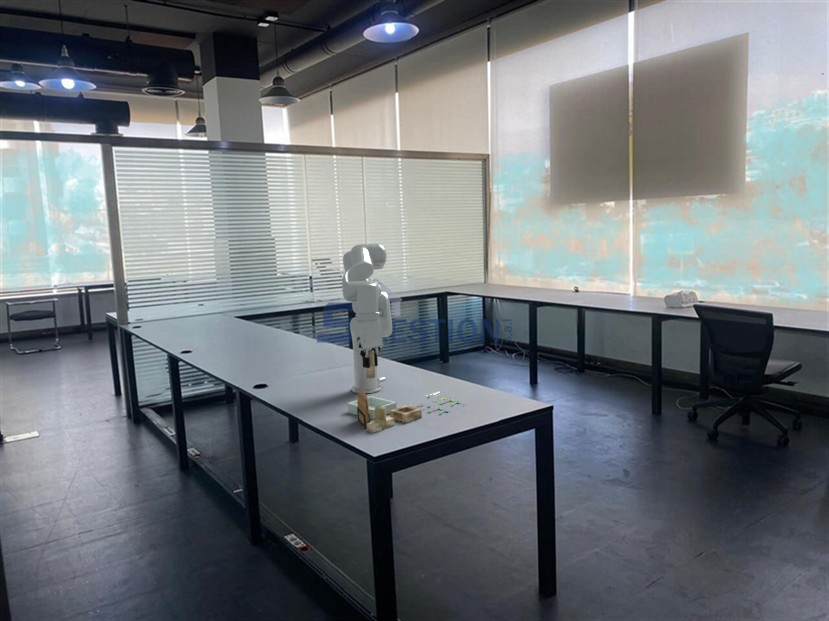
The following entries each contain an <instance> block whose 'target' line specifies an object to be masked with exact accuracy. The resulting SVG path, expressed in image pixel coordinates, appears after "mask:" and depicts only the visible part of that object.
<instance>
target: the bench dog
mask: <svg viewBox="0 0 829 621" xmlns="http://www.w3.org/2000/svg"><path fill="white" fill-rule="evenodd" d="M395 421H396V420H395V419H394V418H392V417H390V415H386V407H382V406H380V407H376V408H375V419H374V420H373V421H370V423H368V424H367V429H366V431H367V432H370V433H373V434H374V433H377V432H379V430H380V431H381V430H382V429H383V430H386V429H388V428H390V426H391V427H393V425H394V426H395V425H396V423H395ZM387 427H388V428H387ZM376 431H377V432H376Z"/></svg>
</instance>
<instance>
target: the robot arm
mask: <svg viewBox="0 0 829 621" xmlns="http://www.w3.org/2000/svg"><path fill="white" fill-rule="evenodd" d="M350 249H351V250H350V251H347V252H345V253H344V254H343V257H342V262H343V269H344V274H343V276H342V280H341V289H342V297H343V299H344V300H345V301H346V302H351V306H352V310H353V312H354V313H355V314H357V316H355V317H352V318H351V320H350V322H349V329H350V334H351V339H352V351H353V372H354V385H353V386H351V391H352V393H356V394H358V389H359V388H360V389H361V390H362V391H363V392H364V393H365V394H372V393H373V394H374V393H378V392H379V391H381V390H382V385H380V384H381V383H384V382H386V377H385V376H383V377H382V376H381V377H380V378H379V377H378V369H377V367H378V366H379V365H378V362H379V361H378V360H379V359H378V356H379V355H380V351H381V349H382V348H383V347H384V345H385V344H384V342H383V338H388V337H390V336H391V335H392V333H393V321H392V320H393V319H392V309H391V303H390V297H389V294H388V293H387V292H386V291H384V290H382V287H381V285H380V283H379V282H378V281H376V280H370V279H369V278H370V277H371V276H372V275H373V273H374V271H375V270H382V269H383V268H384V266H385V264H386V261H387V251H386V248H385V247H384V245H383V244H381V243H367V244H366V243H362V244H361V243H360V244H357V245H354V246H353V247H352V248H350ZM368 350H374V360H375V378H367V376H366V368H370V358H369V357H368Z"/></svg>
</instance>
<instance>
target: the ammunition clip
mask: <svg viewBox="0 0 829 621" xmlns="http://www.w3.org/2000/svg"><path fill="white" fill-rule="evenodd" d="M367 397H368V395H367V393H364V392H363V391H362V390H361V389H360V388H359V389H358V393H357V400H358V407H357V415H356V416H357V422H358V421H359V422H358V423H359V424H360V425H361V426H362V428H363V427H364V428H363V429H364V430H367V424H368V423H371V419H370V414H369V406H368V399H367Z"/></svg>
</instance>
